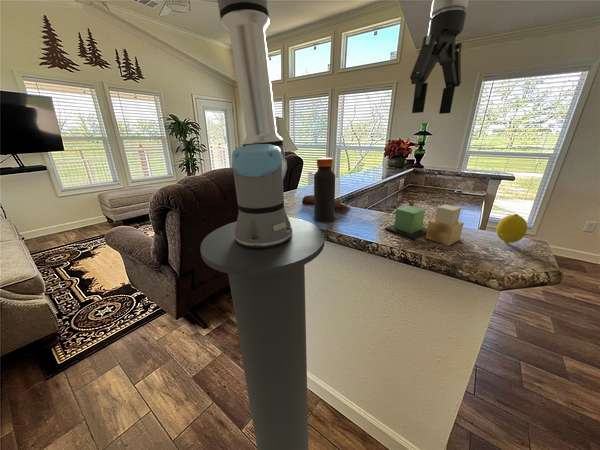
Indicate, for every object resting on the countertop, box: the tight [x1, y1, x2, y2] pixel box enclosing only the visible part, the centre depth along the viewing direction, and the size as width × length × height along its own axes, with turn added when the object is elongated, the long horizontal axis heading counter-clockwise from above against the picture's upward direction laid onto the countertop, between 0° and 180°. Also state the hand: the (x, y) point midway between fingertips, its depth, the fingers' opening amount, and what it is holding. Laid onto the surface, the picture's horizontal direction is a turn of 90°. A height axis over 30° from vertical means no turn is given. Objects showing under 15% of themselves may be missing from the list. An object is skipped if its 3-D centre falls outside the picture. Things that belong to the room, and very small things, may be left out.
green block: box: [393, 205, 426, 234], centre depth 68 cm, size 6×6×6 cm
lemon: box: [496, 213, 528, 244], centre depth 59 cm, size 6×6×8 cm
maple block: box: [425, 218, 464, 247], centre depth 63 cm, size 6×6×5 cm
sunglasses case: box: [301, 194, 351, 214], centre depth 92 cm, size 18×7×7 cm
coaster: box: [384, 224, 428, 240], centre depth 69 cm, size 9×9×1 cm
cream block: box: [434, 203, 462, 226], centre depth 61 cm, size 4×4×4 cm
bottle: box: [313, 157, 336, 223], centre depth 77 cm, size 7×7×20 cm
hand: (431, 113), depth 64 cm, fingers open, 13 cm apart
